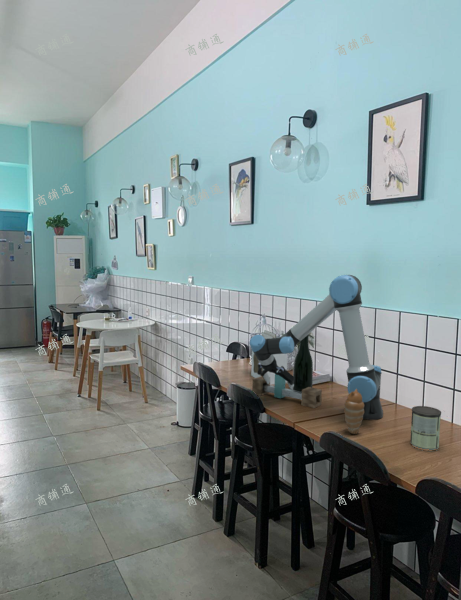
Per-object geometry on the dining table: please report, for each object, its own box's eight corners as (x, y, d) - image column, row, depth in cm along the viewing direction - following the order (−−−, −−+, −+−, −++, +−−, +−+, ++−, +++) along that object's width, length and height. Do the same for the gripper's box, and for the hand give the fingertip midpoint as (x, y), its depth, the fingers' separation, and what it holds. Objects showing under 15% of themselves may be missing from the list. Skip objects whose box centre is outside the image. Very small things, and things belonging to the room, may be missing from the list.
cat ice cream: (347, 428, 193) (349, 386, 192) (366, 432, 189) (368, 389, 187) (339, 434, 186) (341, 390, 185) (358, 439, 182) (360, 394, 180)
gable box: (250, 375, 279) (252, 329, 276) (271, 374, 283) (272, 329, 281) (265, 385, 258) (267, 335, 256) (286, 383, 262) (288, 334, 260)
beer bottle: (311, 389, 252) (313, 329, 249) (312, 394, 241) (315, 332, 239) (292, 388, 253) (294, 328, 250) (292, 393, 242) (295, 331, 240)
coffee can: (405, 440, 182) (407, 405, 181) (431, 440, 182) (433, 405, 181) (416, 451, 172) (419, 414, 170) (444, 451, 172) (446, 414, 171)
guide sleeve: (321, 404, 225) (321, 389, 224) (314, 408, 219) (315, 392, 219) (308, 401, 229) (308, 386, 228) (301, 405, 223) (301, 389, 223)
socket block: (269, 392, 244) (270, 377, 243) (260, 396, 236) (260, 380, 236) (261, 390, 247) (262, 375, 246) (252, 394, 239) (252, 379, 239)
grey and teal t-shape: (308, 402, 227) (309, 376, 226) (305, 404, 224) (306, 378, 223) (261, 391, 244) (261, 367, 243) (256, 392, 241) (257, 369, 240)
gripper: (242, 361, 228) (256, 385, 241) (286, 371, 213) (299, 396, 226) (248, 349, 232) (262, 373, 245) (292, 358, 217) (305, 383, 230)
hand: (280, 384), depth 236 cm, fingers open, 13 cm apart
